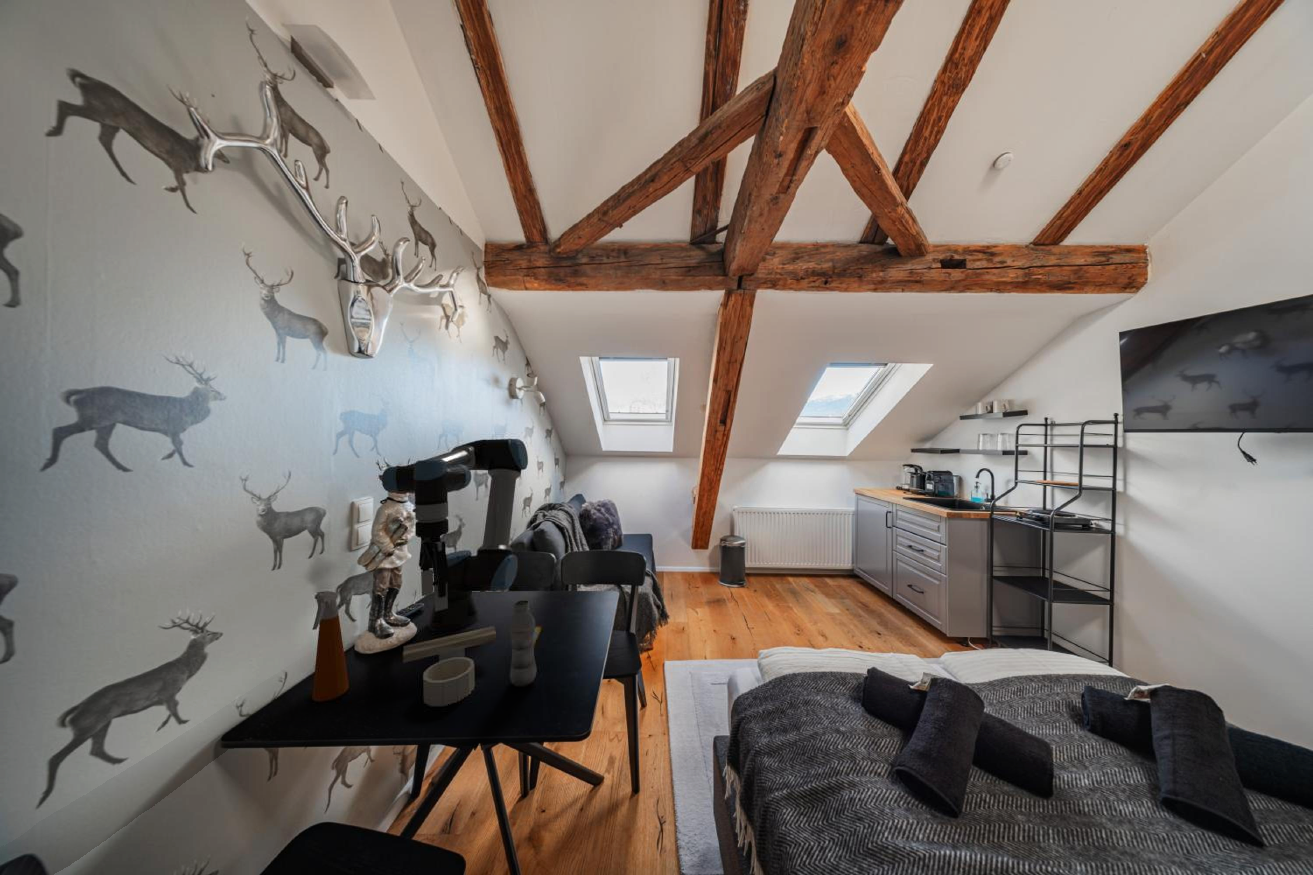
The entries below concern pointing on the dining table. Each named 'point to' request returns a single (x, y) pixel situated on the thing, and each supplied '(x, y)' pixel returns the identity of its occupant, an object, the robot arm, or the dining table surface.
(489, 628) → the cover board
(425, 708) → the dining table surface
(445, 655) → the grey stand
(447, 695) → the oval ring
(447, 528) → the robot arm
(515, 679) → the plastic bottle
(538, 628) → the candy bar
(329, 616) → the spray bottle
